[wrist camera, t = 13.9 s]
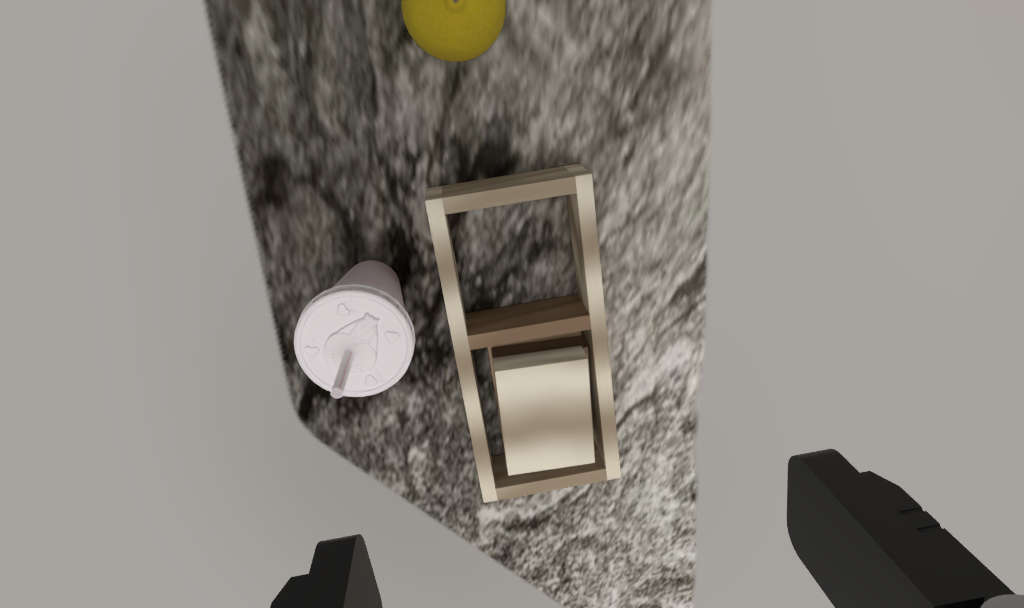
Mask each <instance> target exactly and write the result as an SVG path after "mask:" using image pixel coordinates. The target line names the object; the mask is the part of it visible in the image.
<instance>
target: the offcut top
mask: <svg viewBox="0 0 1024 608" xmlns="http://www.w3.org/2000/svg"><path fill="white" fill-rule="evenodd" d="M493 365H494V373H495V380H496V388H497V396H498V403H499V411H500V418H501V426H502V434H503V441H504V449H505V457H506V464H507V470H508V476H510V475H516V474H523V473H530V472H537V471H543V470H550V469H557V468H563V467H570V466H577V465H583V464H590V463H595V457H594V442H593V428H592V414H591V399H590V385H589V370H588V358H587V356H586V354H585V352H584V350H583V348H582V346H575V347H568V348H561V349H554V350H547V351H540V352H532V353H525V354H518V355H511V356H504V357H497V358H493Z"/></svg>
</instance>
